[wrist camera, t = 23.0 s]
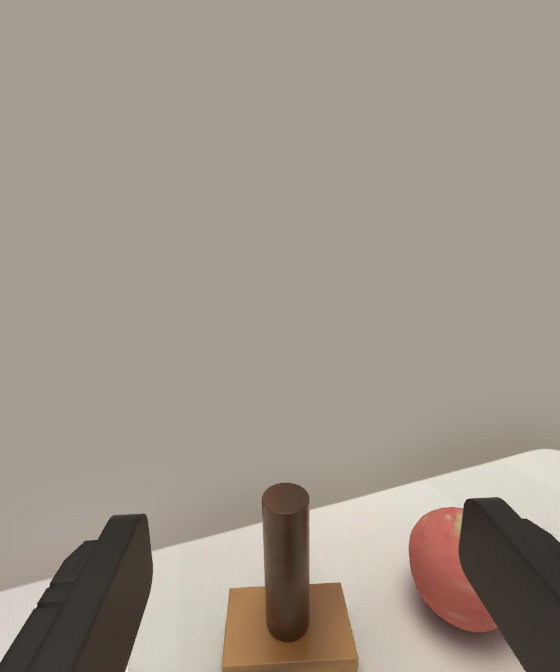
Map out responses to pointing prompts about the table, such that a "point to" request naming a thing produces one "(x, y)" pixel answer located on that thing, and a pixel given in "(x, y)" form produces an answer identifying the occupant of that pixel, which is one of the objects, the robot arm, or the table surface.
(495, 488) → the table surface
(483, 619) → the apple
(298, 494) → the wooden handled stamp
